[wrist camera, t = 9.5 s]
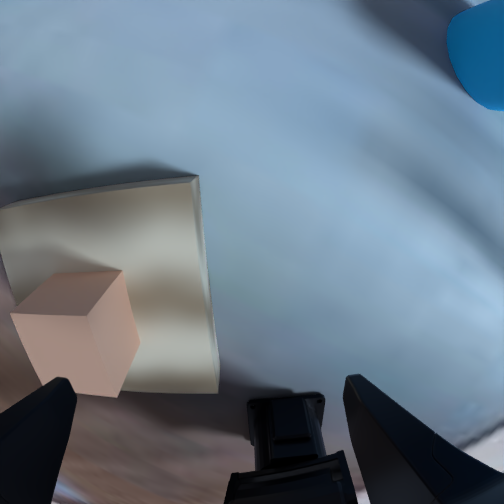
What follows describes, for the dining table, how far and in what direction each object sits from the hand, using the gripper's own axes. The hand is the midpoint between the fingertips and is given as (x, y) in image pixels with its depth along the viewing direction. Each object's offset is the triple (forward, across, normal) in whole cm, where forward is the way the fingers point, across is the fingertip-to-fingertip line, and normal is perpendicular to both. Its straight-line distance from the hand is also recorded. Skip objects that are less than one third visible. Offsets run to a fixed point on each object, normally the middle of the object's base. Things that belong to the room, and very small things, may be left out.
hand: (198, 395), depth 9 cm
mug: (+12, -22, -14) cm, 29 cm away
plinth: (+12, +8, +2) cm, 15 cm away
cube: (+9, +8, +2) cm, 12 cm away
